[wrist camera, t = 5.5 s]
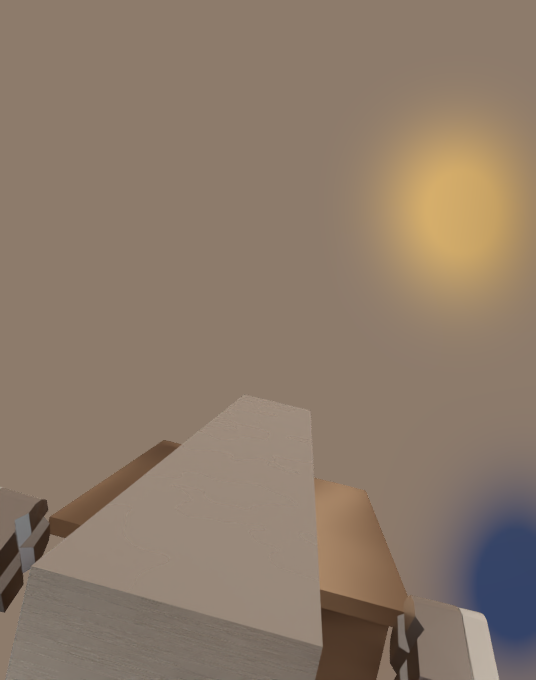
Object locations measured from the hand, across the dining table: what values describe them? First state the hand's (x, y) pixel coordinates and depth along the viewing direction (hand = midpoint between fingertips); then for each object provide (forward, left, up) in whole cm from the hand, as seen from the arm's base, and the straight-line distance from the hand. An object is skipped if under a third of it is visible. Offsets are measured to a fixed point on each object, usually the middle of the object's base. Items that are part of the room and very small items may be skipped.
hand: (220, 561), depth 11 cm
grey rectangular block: (0, -5, -2) cm, 5 cm away
